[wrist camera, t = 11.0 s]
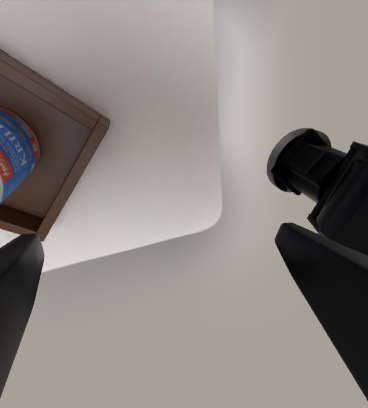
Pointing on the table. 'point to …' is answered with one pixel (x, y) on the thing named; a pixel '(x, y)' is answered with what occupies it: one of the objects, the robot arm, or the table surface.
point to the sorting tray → (46, 146)
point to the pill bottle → (15, 152)
